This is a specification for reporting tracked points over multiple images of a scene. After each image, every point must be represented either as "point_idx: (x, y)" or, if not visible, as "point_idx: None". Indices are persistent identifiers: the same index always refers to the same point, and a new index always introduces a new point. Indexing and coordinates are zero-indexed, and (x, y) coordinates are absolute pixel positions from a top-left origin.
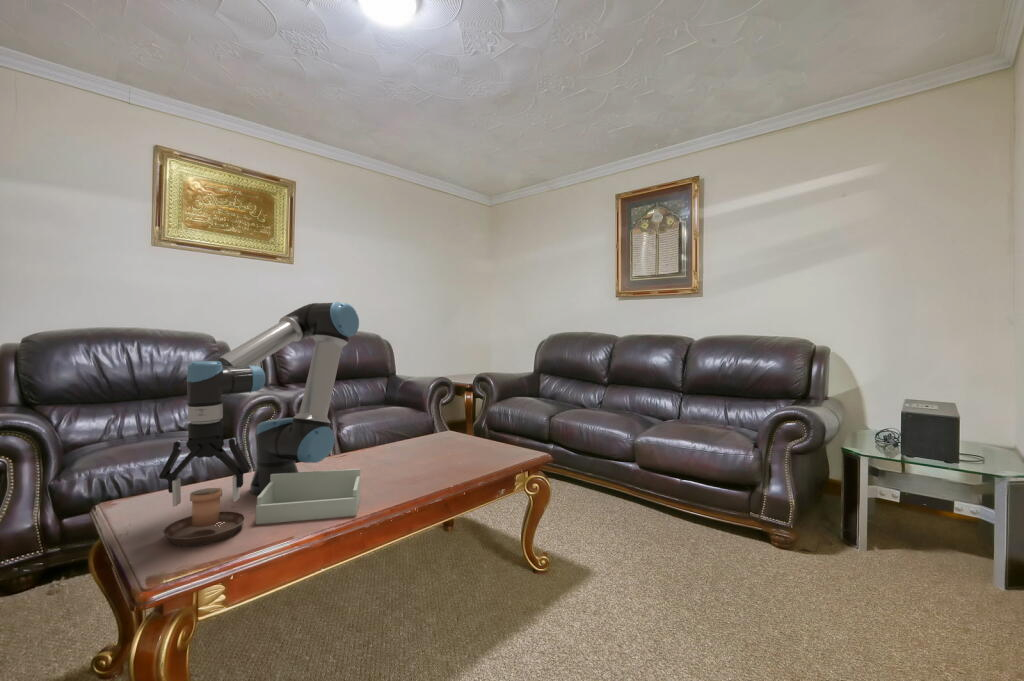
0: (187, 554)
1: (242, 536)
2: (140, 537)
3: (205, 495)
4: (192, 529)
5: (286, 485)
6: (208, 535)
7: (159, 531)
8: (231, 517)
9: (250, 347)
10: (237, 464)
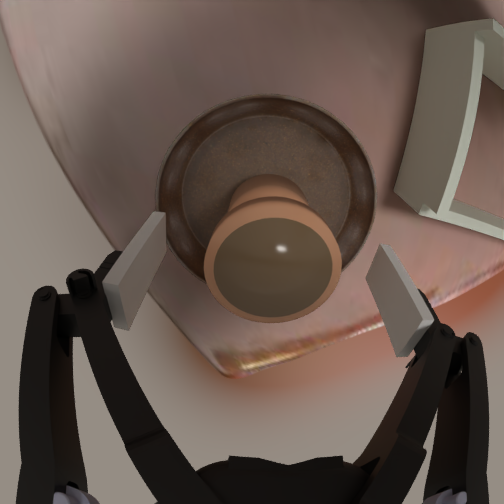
0: None
1: (358, 256)
2: (104, 171)
3: (279, 321)
4: (222, 163)
5: (500, 61)
6: None
7: (131, 140)
8: (332, 130)
9: None
10: (447, 367)
